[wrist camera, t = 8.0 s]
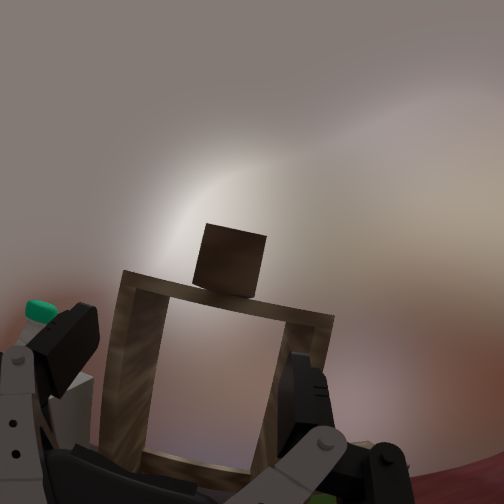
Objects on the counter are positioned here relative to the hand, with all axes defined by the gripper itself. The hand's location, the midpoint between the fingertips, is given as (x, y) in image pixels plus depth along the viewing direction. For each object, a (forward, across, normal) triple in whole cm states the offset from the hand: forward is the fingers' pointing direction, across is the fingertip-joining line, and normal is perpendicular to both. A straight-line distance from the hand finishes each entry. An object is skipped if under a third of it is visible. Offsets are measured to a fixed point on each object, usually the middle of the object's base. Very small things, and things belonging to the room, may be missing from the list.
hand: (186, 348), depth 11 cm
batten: (+14, +1, -5) cm, 15 cm away
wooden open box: (+2, 0, -35) cm, 35 cm away
